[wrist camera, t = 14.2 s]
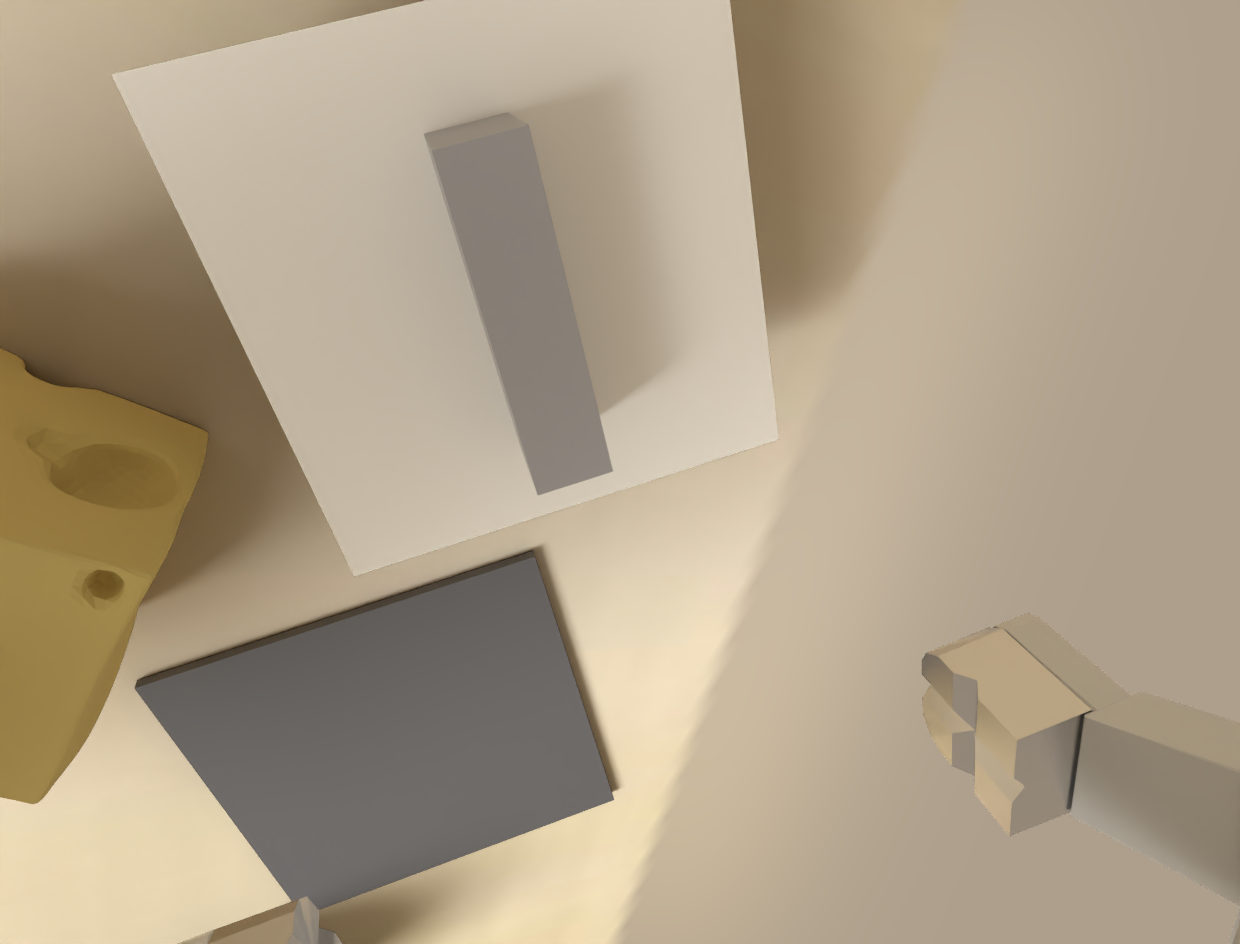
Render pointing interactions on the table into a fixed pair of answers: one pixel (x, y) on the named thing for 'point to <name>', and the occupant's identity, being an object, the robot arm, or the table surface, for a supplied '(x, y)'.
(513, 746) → the mat
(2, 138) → the table surface
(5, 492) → the cheese
